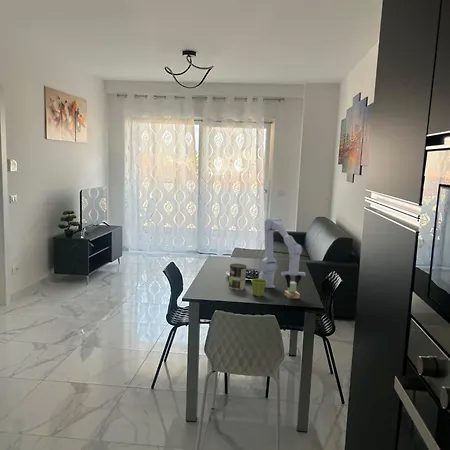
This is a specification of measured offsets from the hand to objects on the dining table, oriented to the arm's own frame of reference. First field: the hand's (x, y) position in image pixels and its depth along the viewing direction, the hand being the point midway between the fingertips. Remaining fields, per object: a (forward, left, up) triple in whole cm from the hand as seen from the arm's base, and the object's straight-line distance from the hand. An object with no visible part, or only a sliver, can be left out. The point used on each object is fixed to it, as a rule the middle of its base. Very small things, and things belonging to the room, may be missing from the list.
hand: (292, 287), depth 256 cm
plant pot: (-20, +2, -6) cm, 21 cm away
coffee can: (-30, +17, -6) cm, 35 cm away
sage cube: (0, 0, -2) cm, 2 cm away
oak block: (0, 0, -6) cm, 6 cm away
